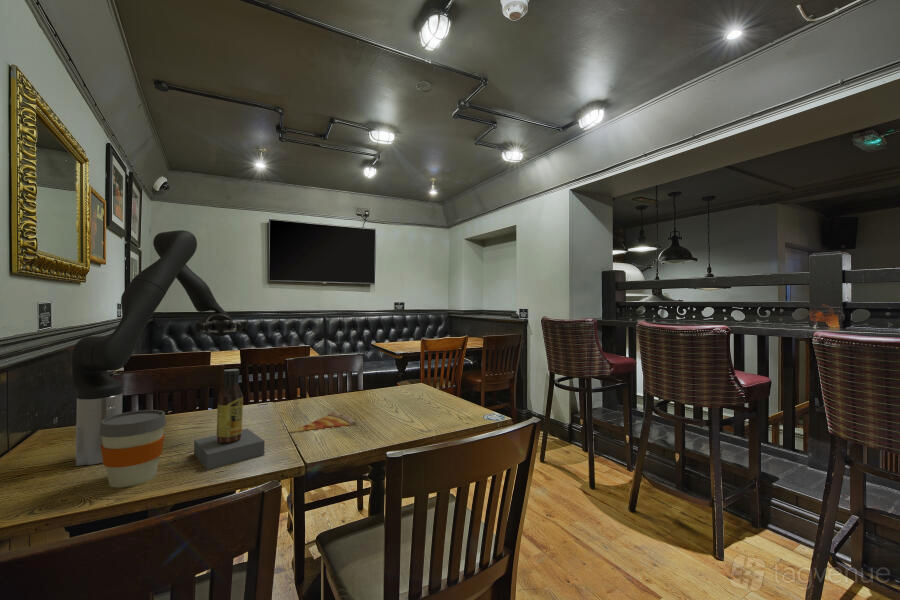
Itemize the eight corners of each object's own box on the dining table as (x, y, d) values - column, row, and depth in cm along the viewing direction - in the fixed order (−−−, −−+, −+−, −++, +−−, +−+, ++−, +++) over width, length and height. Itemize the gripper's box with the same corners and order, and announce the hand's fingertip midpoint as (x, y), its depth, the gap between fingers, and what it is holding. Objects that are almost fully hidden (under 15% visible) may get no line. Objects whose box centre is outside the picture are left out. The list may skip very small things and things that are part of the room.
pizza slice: (287, 421, 140) (287, 415, 140) (349, 414, 150) (349, 409, 150) (288, 434, 126) (288, 428, 126) (357, 426, 136) (357, 420, 136)
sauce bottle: (233, 444, 105) (234, 372, 105) (211, 444, 106) (212, 371, 106) (246, 436, 112) (247, 368, 112) (225, 435, 112) (226, 367, 112)
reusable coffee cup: (171, 478, 94) (172, 416, 94) (102, 497, 85) (103, 429, 85) (158, 463, 102) (159, 406, 102) (95, 478, 93) (96, 417, 93)
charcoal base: (207, 470, 99) (207, 454, 99) (193, 454, 108) (194, 440, 109) (264, 454, 109) (264, 440, 109) (247, 441, 118) (247, 428, 118)
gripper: (194, 314, 128) (196, 315, 115) (242, 313, 136) (249, 315, 123) (193, 336, 128) (195, 341, 115) (242, 334, 136) (249, 338, 123)
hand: (223, 327), depth 119 cm, fingers open, 8 cm apart
